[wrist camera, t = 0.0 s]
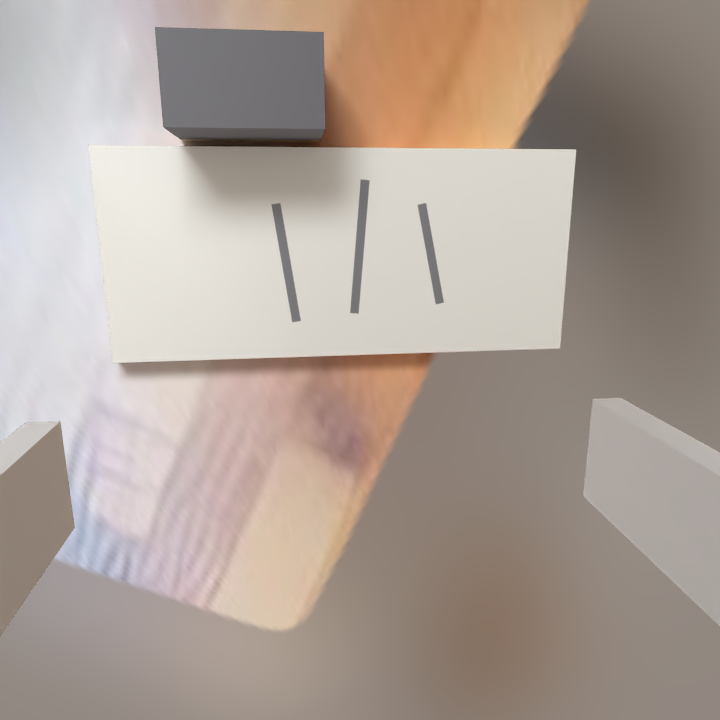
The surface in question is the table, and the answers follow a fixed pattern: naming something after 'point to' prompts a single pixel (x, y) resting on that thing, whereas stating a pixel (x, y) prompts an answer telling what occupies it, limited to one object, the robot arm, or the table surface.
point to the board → (330, 250)
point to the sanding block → (241, 84)
